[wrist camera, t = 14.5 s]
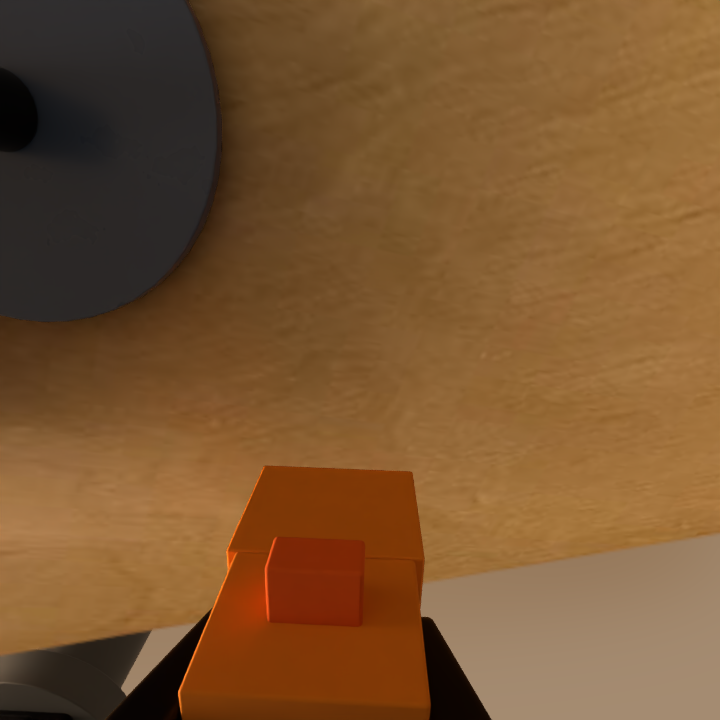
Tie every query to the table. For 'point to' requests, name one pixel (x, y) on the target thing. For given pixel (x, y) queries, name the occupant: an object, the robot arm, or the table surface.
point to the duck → (317, 604)
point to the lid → (101, 151)
